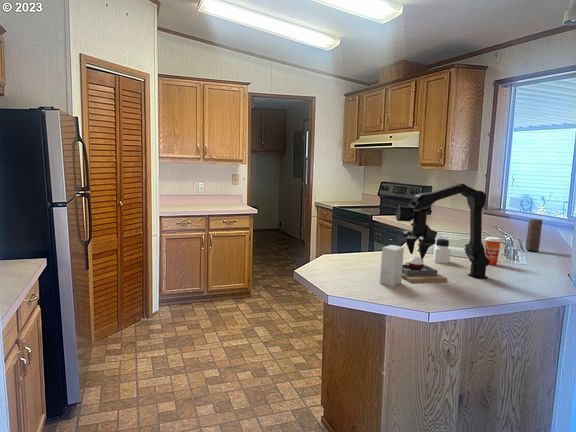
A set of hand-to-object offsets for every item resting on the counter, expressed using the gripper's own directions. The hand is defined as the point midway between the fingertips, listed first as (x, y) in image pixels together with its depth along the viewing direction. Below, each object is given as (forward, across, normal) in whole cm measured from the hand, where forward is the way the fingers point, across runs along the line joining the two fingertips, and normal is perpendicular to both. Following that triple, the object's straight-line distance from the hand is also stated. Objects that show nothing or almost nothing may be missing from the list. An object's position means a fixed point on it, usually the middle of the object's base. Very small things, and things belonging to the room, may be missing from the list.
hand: (416, 255), depth 197 cm
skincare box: (+9, -11, +18) cm, 23 cm away
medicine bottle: (+9, +24, -29) cm, 39 cm away
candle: (+9, +46, -107) cm, 117 cm away
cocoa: (+7, 0, 0) cm, 7 cm away
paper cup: (+9, +17, -54) cm, 57 cm away
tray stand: (+9, 0, 0) cm, 9 cm away
